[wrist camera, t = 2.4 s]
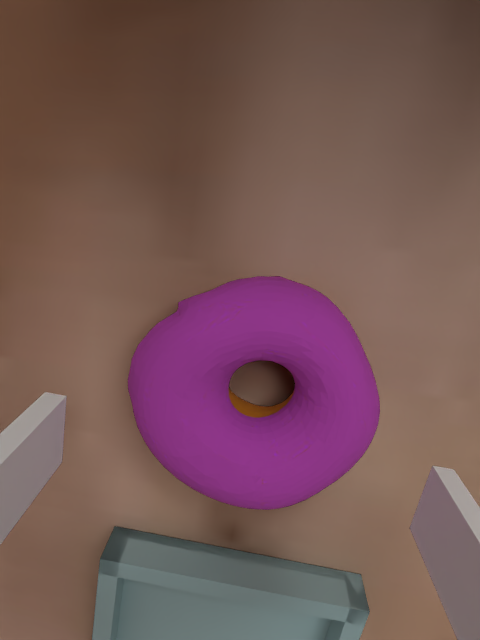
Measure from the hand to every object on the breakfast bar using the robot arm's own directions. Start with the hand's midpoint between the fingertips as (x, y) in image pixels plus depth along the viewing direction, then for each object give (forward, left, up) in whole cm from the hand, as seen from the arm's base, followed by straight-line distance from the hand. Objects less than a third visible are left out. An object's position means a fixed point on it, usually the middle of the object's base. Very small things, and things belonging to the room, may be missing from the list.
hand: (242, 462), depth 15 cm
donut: (-1, 0, -6) cm, 6 cm away
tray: (+18, +1, -6) cm, 19 cm away
